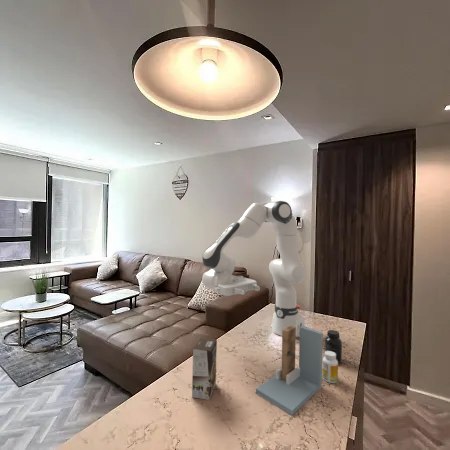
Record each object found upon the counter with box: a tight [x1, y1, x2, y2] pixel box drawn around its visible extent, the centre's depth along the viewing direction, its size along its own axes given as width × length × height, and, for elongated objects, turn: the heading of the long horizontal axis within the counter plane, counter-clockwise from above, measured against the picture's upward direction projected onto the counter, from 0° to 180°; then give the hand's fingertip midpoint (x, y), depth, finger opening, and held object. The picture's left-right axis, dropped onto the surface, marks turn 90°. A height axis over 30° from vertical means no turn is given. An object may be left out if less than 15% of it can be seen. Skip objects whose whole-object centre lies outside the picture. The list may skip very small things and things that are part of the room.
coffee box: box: [191, 337, 218, 401], centre depth 87 cm, size 9×6×16 cm
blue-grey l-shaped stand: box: [255, 326, 324, 416], centre depth 88 cm, size 20×14×20 cm
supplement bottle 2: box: [322, 350, 339, 384], centre depth 95 cm, size 5×5×10 cm
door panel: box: [281, 326, 297, 381], centre depth 93 cm, size 6×3×18 cm, turn 134°
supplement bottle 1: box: [324, 329, 343, 364], centre depth 109 cm, size 7×7×12 cm
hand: (251, 290), depth 106 cm, fingers open, 8 cm apart
